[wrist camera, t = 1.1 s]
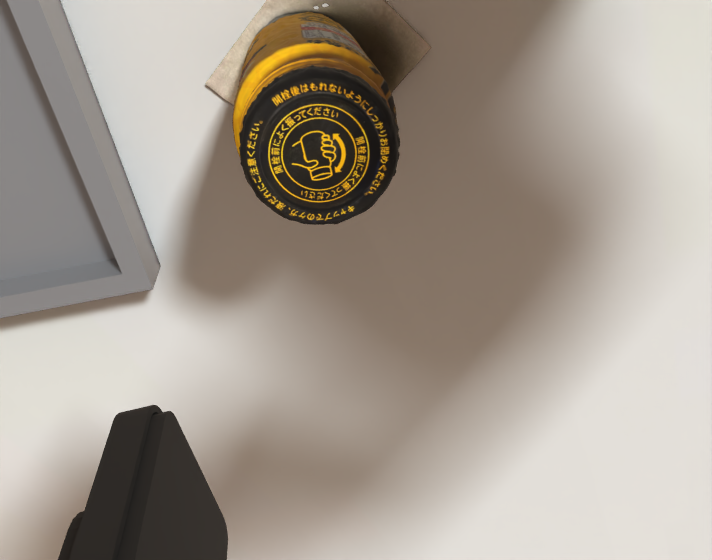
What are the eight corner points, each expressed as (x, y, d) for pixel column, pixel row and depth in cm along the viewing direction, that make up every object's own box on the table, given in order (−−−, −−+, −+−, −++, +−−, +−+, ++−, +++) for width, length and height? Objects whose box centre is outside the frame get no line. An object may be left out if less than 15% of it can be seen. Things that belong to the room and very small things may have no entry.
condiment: (205, 83, 28) (168, 169, 18) (316, -69, 26) (345, -66, 16) (320, 172, 32) (343, 289, 21) (430, 46, 29) (516, 110, 19)
